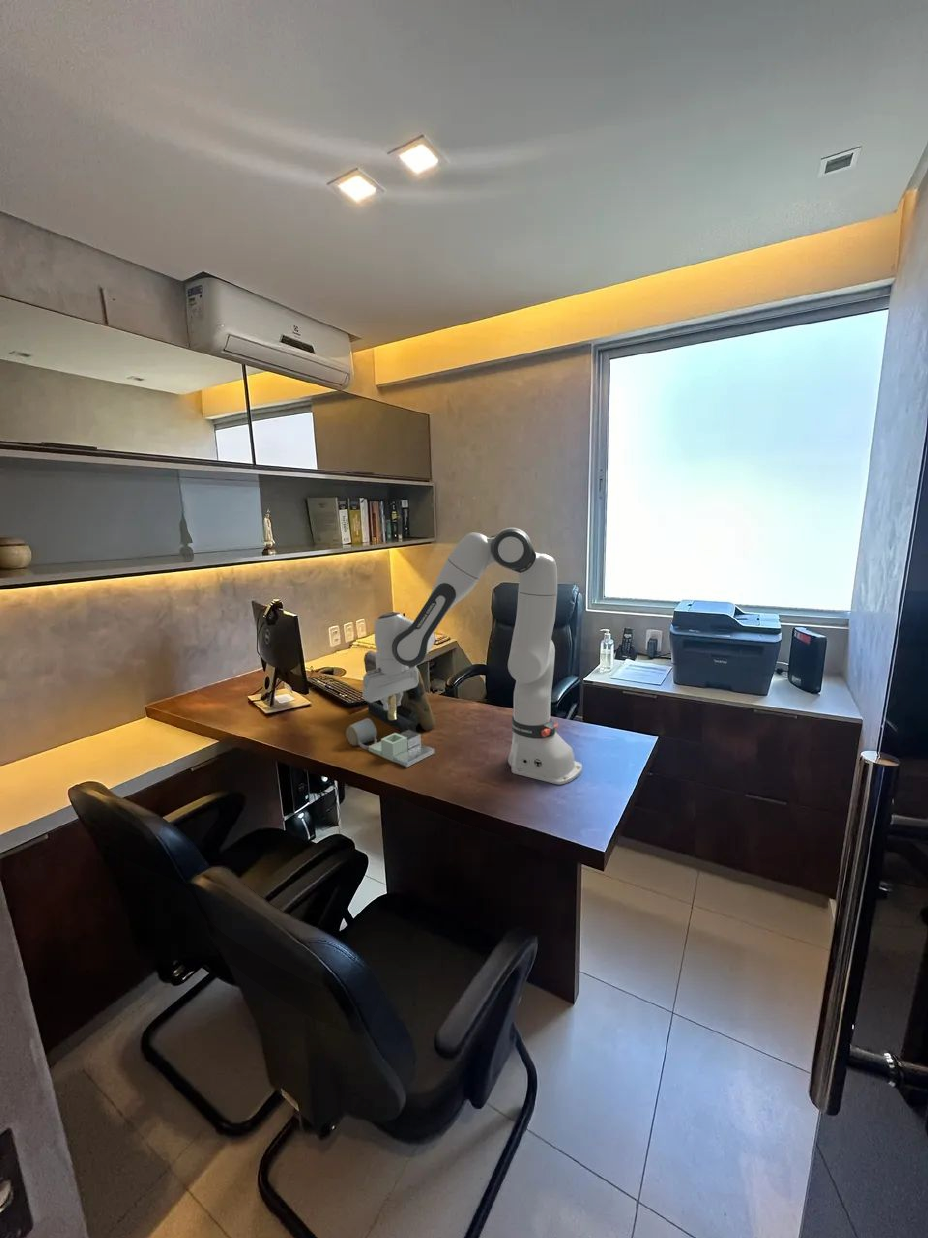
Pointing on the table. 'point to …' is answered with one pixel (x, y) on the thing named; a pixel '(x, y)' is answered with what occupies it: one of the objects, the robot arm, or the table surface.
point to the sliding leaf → (413, 750)
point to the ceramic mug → (361, 733)
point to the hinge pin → (392, 707)
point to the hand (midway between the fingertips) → (392, 707)
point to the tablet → (404, 705)
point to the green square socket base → (390, 746)
